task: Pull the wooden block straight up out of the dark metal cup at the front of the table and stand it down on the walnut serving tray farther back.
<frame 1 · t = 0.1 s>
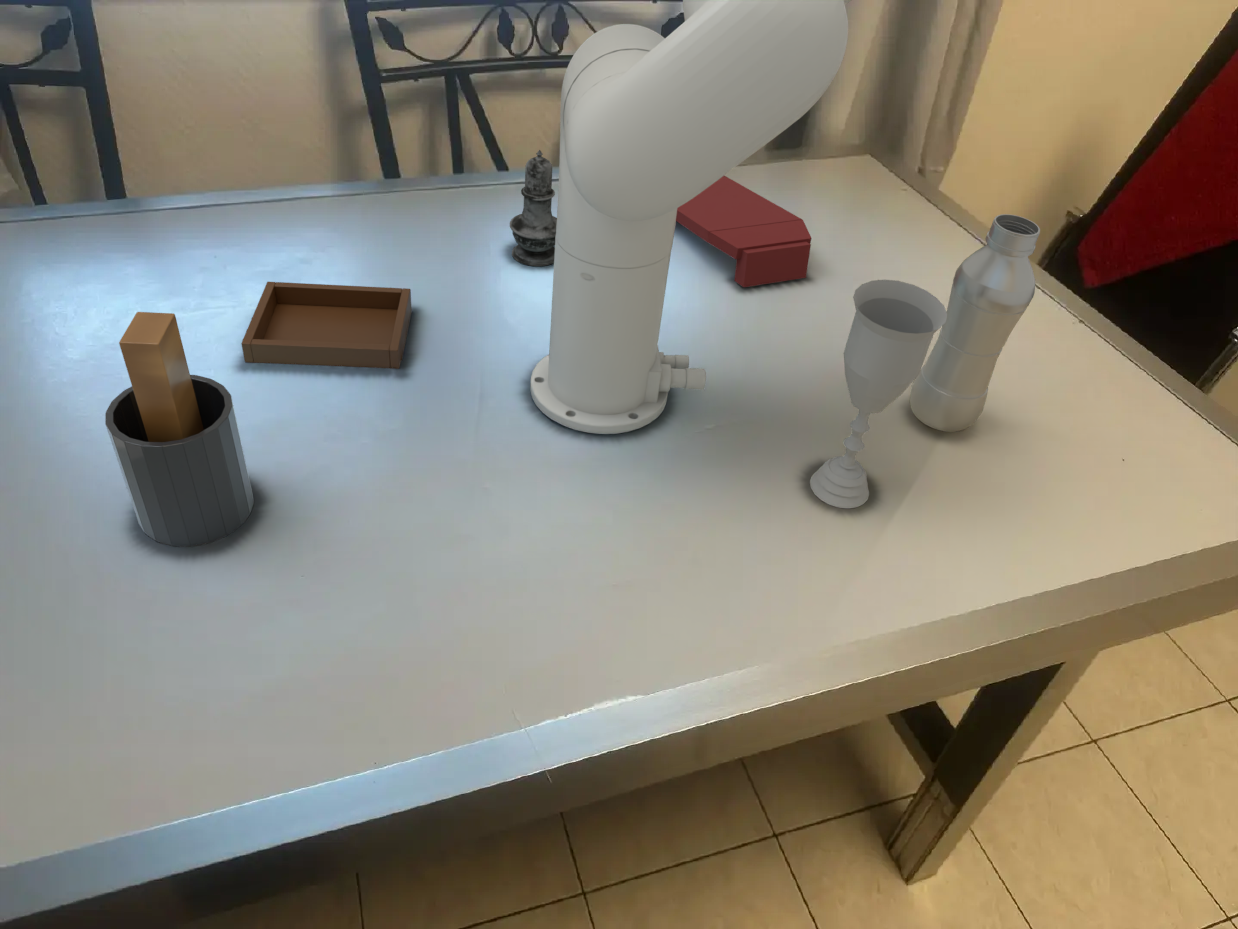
red chamfered block: (720, 232, 114), on the table
tray: (333, 337, 90), on the table
chalice: (838, 489, 81), on the table
wooden block: (196, 507, 71), point 1 cm above the table, touching cup
plastic bottle: (937, 420, 90), on the table
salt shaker: (535, 255, 106), on the table
cup: (198, 513, 72), on the table
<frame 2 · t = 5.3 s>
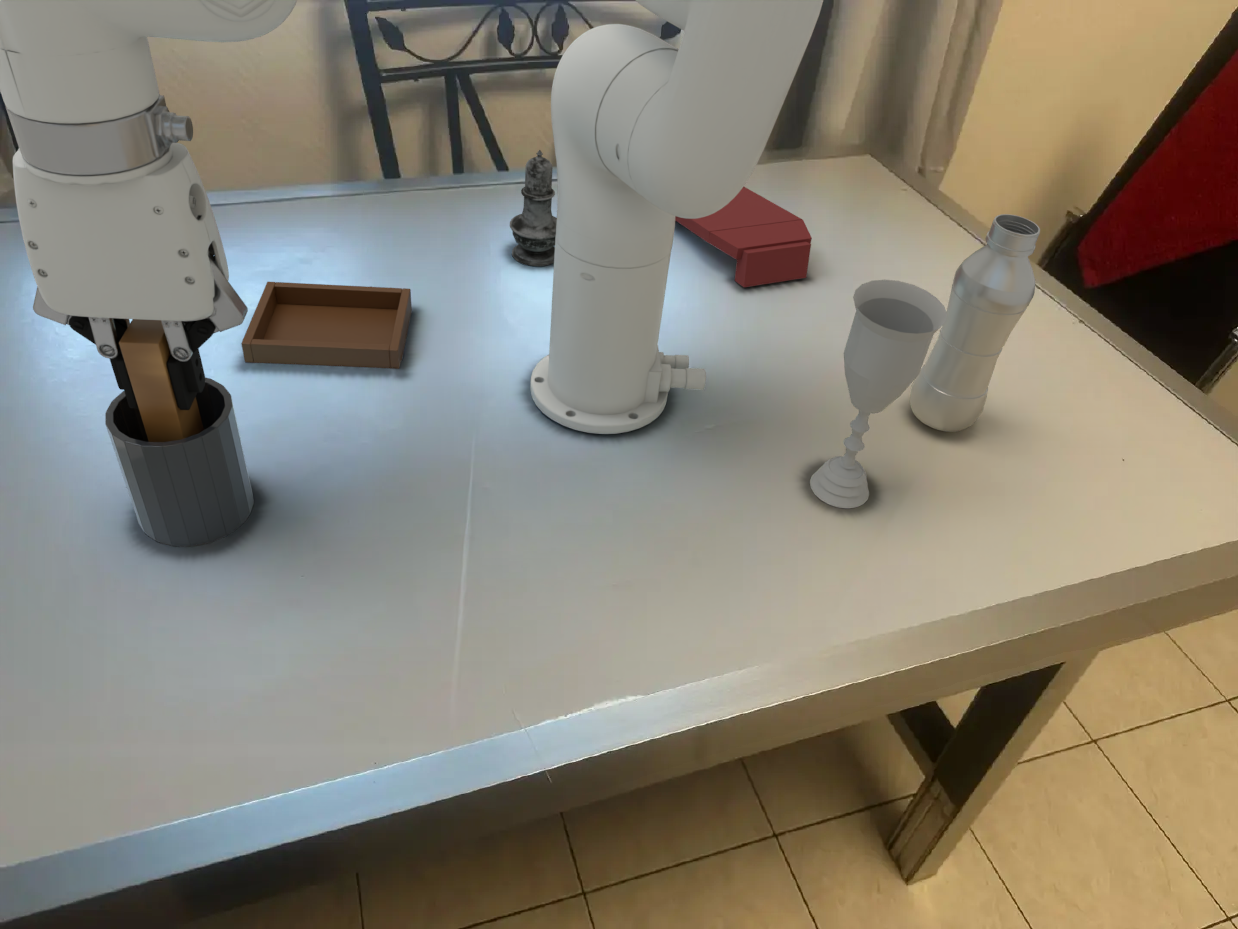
hand: (165, 394, 64), 11 cm above the table, tool pointing down, fingers closed on wooden block, 2 cm apart
wooden block: (197, 507, 71), point 1 cm above the table, touching gripper
everything else where it was.
when the fingers open (11 cm above the table, at t = 13.6 s): wooden block stays where it is, resting on tray.
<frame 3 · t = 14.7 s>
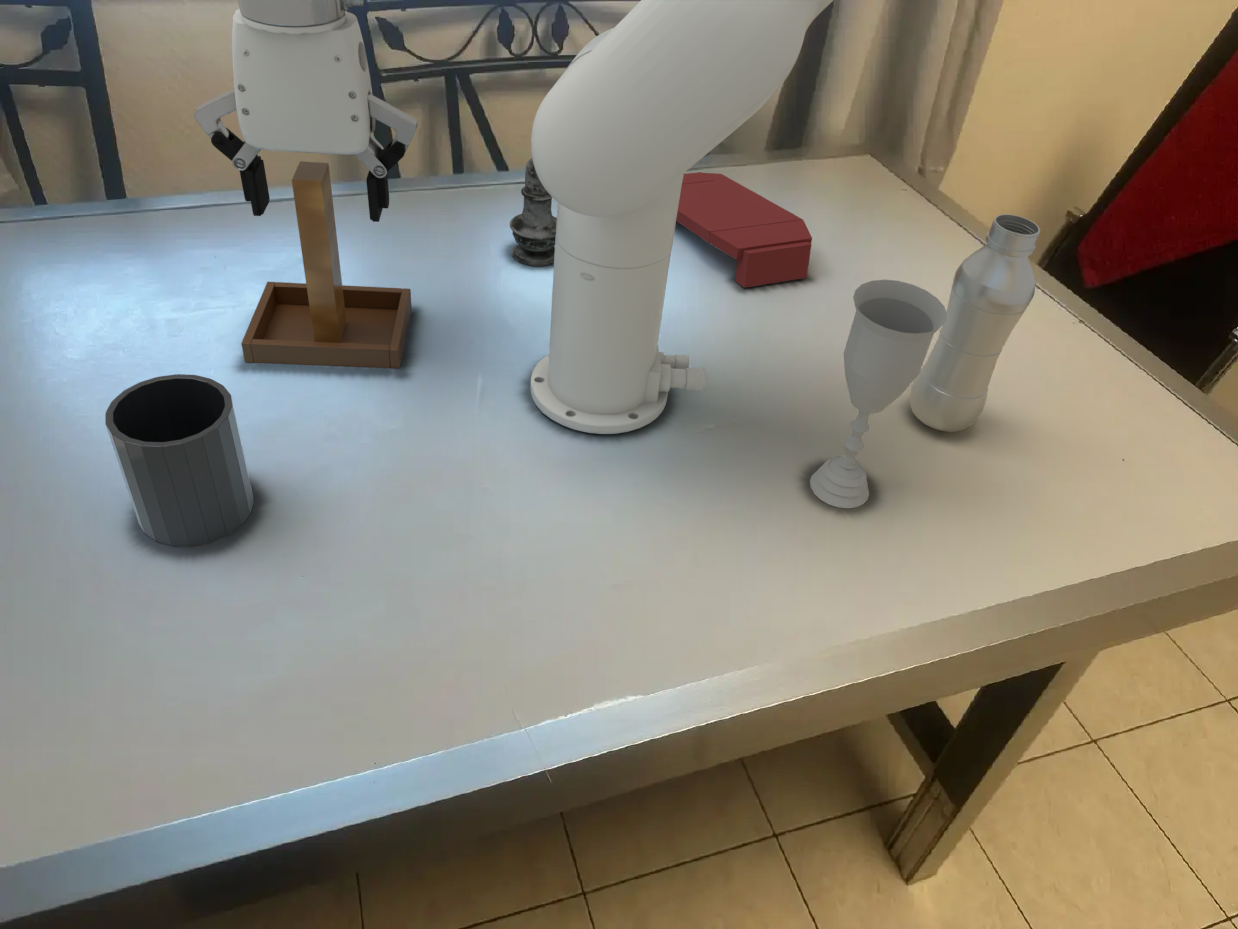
hand: (319, 211, 82), 13 cm above the table, tool pointing down, fingers open, 9 cm apart
wooden block: (330, 331, 90), point 1 cm above the table, touching tray
everything else where it was.
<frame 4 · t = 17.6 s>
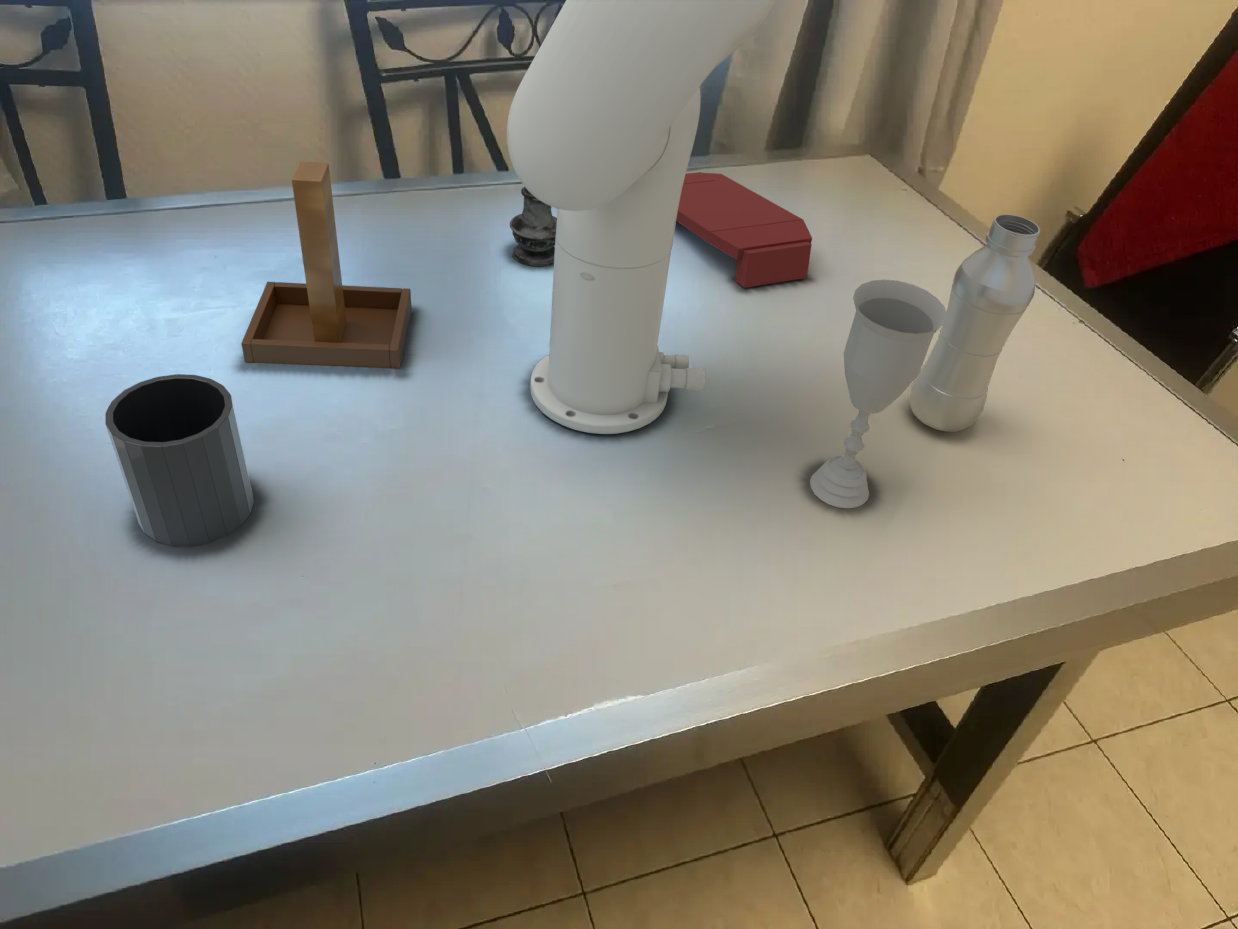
nothing on the table moved.
at the end: wooden block inside the target area in the tray (0.2 cm from its centre), point 0.6 cm above the tray's base; the gripper is holding nothing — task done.
